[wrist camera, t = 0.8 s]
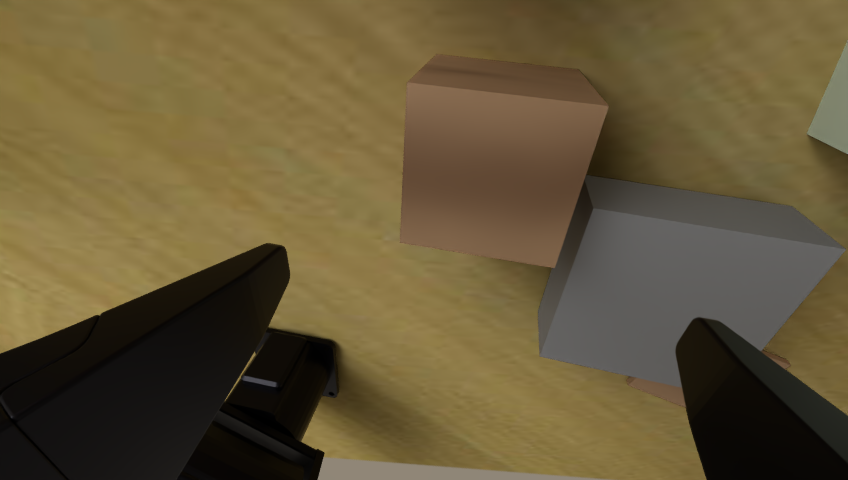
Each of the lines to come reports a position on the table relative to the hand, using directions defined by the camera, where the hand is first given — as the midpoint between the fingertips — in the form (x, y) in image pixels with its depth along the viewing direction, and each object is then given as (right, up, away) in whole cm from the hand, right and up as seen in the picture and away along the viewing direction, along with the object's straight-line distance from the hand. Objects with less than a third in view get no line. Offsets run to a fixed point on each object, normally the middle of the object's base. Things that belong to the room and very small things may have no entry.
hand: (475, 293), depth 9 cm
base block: (+10, 0, +12) cm, 16 cm away
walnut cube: (+2, +6, +9) cm, 12 cm away
